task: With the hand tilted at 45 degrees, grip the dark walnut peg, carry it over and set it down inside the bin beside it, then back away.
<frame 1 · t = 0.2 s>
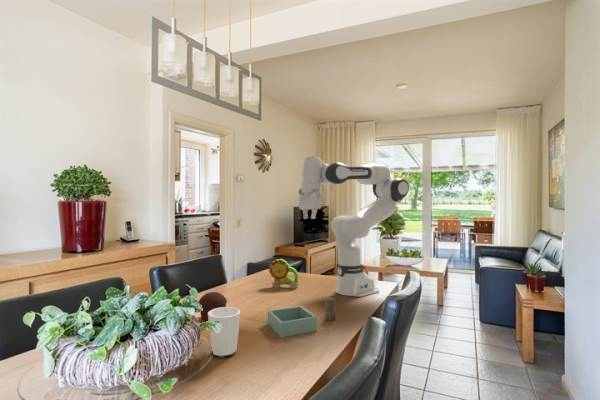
hand: (309, 218, 158), 38 cm above the table, tool pointing down, fingers open, 8 cm apart
toy lion: (283, 287, 178), on the table
walnut peg: (330, 319, 131), on the table
muffin: (212, 318, 132), on the table
cup: (224, 353, 102), on the table
bin: (291, 327, 123), on the table
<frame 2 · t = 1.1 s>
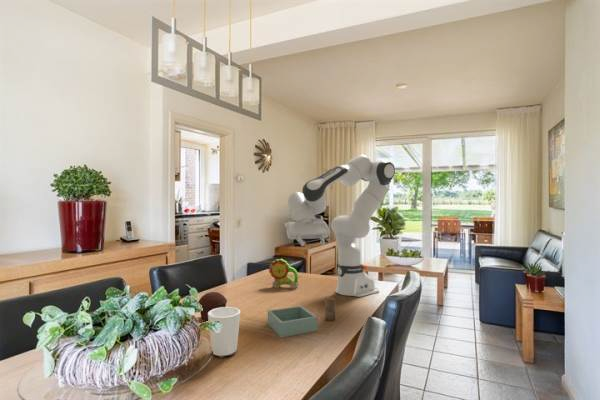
hand: (313, 244, 144), 28 cm above the table, tool tilted 45°, fingers open, 8 cm apart
nothing on the table moved.
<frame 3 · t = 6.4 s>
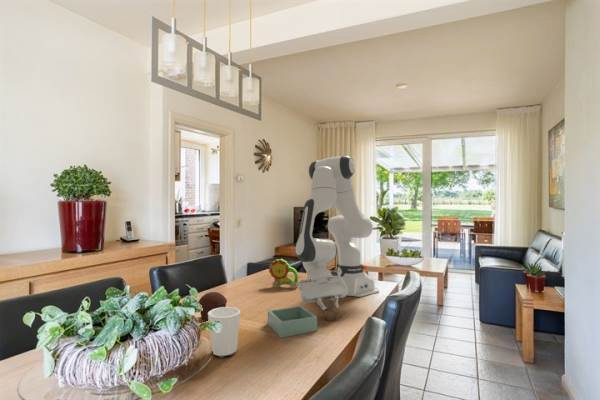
hand: (331, 308, 130), 4 cm above the table, tool tilted 45°, fingers closed on walnut peg, 4 cm apart
walnut peg: (330, 319, 131), on the table, touching gripper
everything else where it was.
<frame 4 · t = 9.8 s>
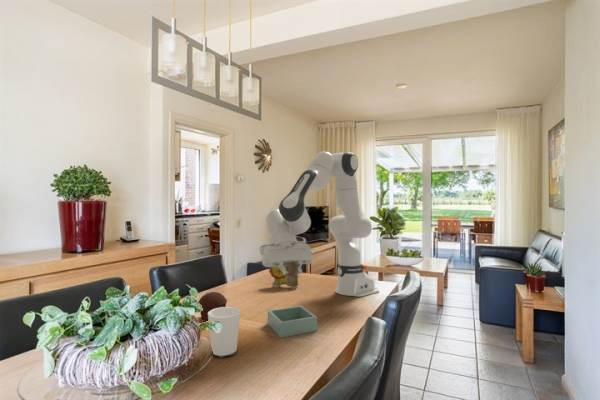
hand: (293, 273, 122), 20 cm above the table, tool tilted 45°, fingers closed on walnut peg, 4 cm apart
walnut peg: (292, 285, 122), point 16 cm above the table, touching gripper
everything else where it was.
when the fingers open (6 cm above the table, at t = 13.1 s): walnut peg drops 1 cm, resting on bin.
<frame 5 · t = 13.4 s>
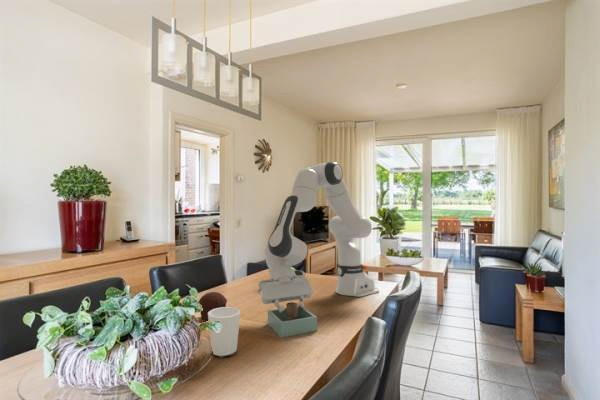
hand: (292, 310, 122), 6 cm above the table, tool tilted 45°, fingers open, 7 cm apart
walnut peg: (291, 325, 123), point 1 cm above the table, touching bin
everything else where it was.
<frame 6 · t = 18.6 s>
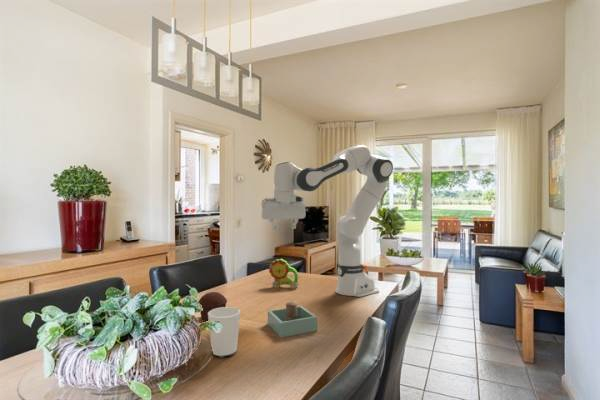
hand: (283, 229, 148), 34 cm above the table, tool pointing down, fingers open, 8 cm apart
nothing on the table moved.
at the end: walnut peg inside the target area on the bin (0.1 cm from its centre), point 0.6 cm above the bin's base; walnut peg tilted 1°; the gripper is holding nothing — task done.
